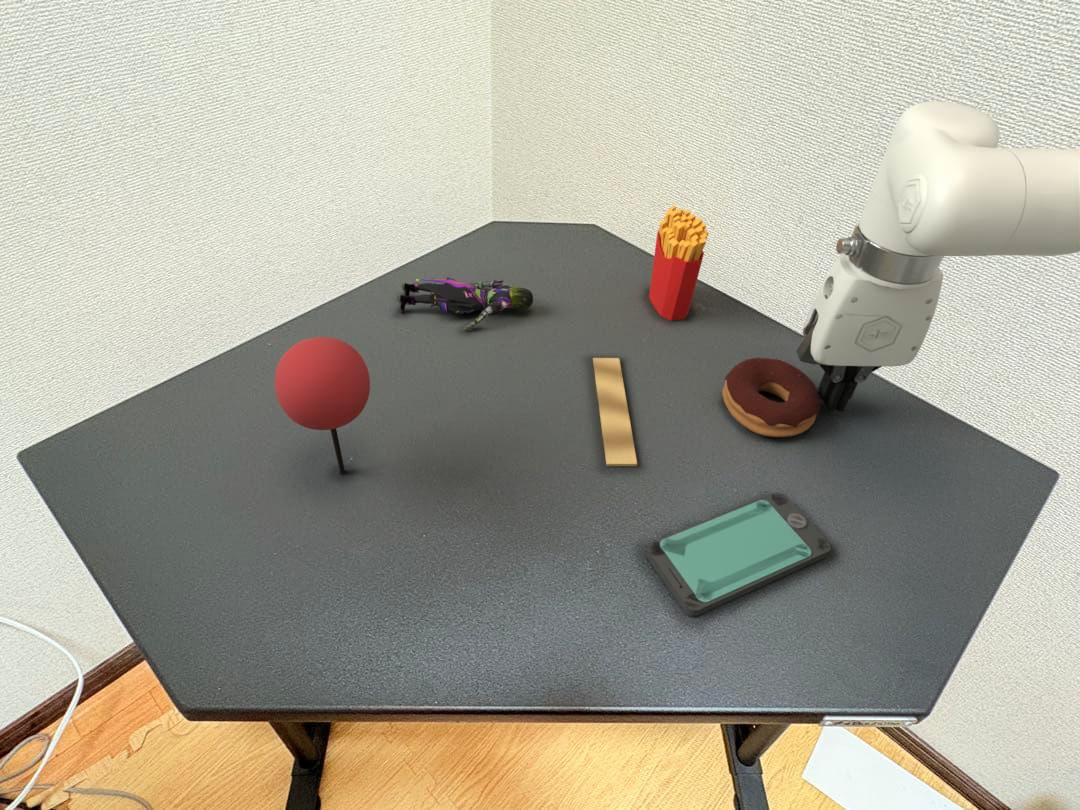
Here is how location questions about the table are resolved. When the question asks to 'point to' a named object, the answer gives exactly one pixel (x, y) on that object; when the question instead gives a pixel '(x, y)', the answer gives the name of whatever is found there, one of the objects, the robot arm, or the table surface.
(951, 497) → the table surface
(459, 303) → the character figure
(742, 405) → the donut
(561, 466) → the table surface
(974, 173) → the robot arm
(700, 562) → the smartphone
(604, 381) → the strip
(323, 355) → the lollipop
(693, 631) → the table surface
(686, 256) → the french fries
